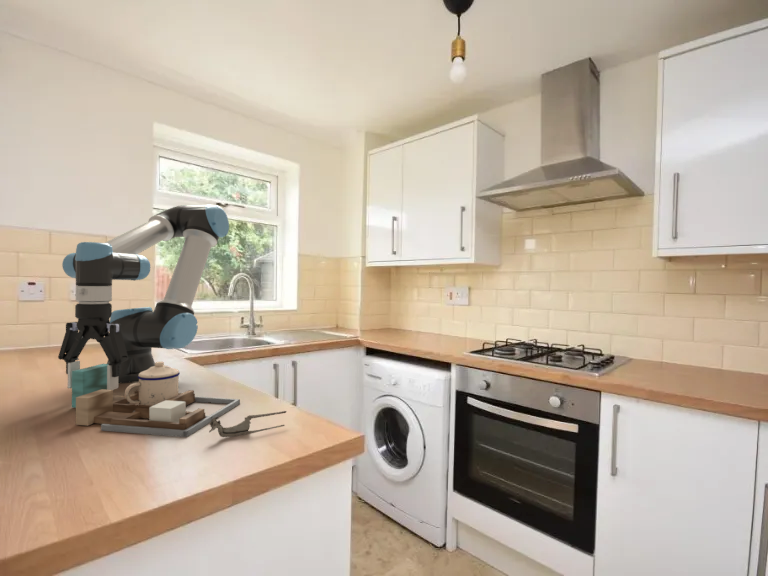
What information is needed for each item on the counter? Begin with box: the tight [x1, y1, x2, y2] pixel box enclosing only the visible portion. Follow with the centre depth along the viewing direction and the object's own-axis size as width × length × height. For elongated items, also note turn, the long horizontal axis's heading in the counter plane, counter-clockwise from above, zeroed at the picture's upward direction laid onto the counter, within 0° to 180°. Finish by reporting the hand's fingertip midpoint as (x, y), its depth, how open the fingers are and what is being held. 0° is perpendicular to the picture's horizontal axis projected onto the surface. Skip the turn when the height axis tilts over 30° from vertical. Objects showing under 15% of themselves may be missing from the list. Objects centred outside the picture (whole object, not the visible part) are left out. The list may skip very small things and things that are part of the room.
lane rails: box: [100, 395, 241, 438], centre depth 92 cm, size 22×20×1 cm
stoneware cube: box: [148, 400, 187, 423], centre depth 86 cm, size 5×5×5 cm
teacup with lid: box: [124, 361, 180, 406], centre depth 96 cm, size 12×9×12 cm
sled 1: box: [71, 363, 196, 413], centre depth 99 cm, size 12×26×9 cm, turn 83°
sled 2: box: [75, 389, 206, 430], centre depth 87 cm, size 8×26×6 cm, turn 83°
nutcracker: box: [208, 410, 287, 438], centre depth 83 cm, size 16×1×5 cm, turn 124°
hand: (93, 388), depth 100 cm, fingers open, 10 cm apart
